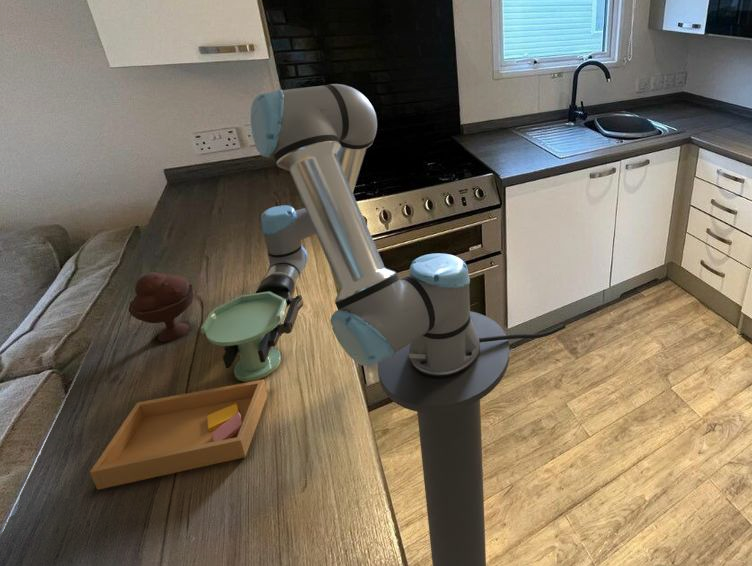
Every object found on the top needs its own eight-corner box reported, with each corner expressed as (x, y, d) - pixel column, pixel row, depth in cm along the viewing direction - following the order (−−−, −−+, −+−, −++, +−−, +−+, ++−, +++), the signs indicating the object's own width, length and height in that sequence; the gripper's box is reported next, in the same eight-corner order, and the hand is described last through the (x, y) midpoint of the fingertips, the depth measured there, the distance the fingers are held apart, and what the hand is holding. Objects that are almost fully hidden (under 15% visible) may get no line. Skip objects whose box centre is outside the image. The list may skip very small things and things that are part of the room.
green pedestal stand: (300, 337, 96) (290, 288, 92) (286, 383, 85) (274, 329, 80) (232, 349, 93) (218, 298, 88) (208, 399, 81) (191, 343, 77)
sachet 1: (238, 414, 76) (239, 418, 77) (236, 402, 79) (237, 405, 79) (207, 428, 74) (209, 432, 74) (206, 415, 76) (207, 419, 76)
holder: (268, 394, 82) (264, 379, 81) (245, 457, 71) (240, 440, 70) (143, 418, 77) (137, 402, 76) (97, 490, 66) (89, 472, 64)
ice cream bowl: (139, 358, 90) (117, 297, 85) (144, 328, 98) (124, 270, 93) (203, 337, 96) (185, 279, 91) (202, 310, 104) (187, 255, 99)
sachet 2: (241, 414, 76) (238, 411, 75) (245, 426, 73) (242, 423, 73) (214, 435, 73) (211, 433, 73) (217, 448, 71) (214, 446, 71)
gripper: (321, 295, 107) (300, 365, 86) (237, 306, 102) (193, 384, 81) (317, 268, 104) (293, 335, 83) (230, 279, 100) (182, 352, 79)
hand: (244, 359), depth 82 cm, fingers open, 5 cm apart
